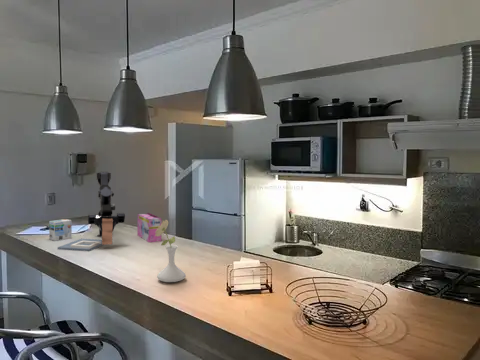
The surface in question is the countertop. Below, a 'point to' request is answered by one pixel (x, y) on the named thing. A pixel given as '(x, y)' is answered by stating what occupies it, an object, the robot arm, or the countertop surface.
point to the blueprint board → (82, 245)
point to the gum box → (148, 227)
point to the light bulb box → (60, 229)
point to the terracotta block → (107, 230)
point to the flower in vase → (171, 270)
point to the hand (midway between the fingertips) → (107, 231)
